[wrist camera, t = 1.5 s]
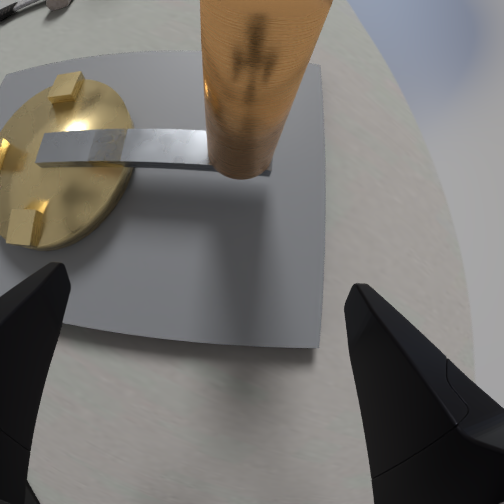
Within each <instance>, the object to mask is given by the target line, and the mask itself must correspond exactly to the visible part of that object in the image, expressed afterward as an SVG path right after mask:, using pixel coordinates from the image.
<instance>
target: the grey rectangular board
mask: <svg viewBox="0 0 504 504" xmlns="http://www.w3.org/2000/svg"><path fill="white" fill-rule="evenodd" d="M78 71H81V72H82V74H83V75H84V77H85V79H88V80H94V81H99V82H101V83H104V84H106V85H108V86H109V87H111V88H112V89H113V90H115V91H116V92H117V93H118V94H119V96H120V97H121V98H122V100H123V101H124V104H125V106H126V108H127V110H128V112H129V114H130V117H131V119H132V121H133V123H134V127H135V129H182V130H202V131H206V119H205V103H204V86H203V67H202V51H145V52H129V53H118V54H108V55H99V56H92V57H85V58H78V59H72V60H66V61H61V62H56V63H51V64H46V65H42V66H37V67H33V68H29V69H25V70H21V71H18V72H14V73H10V74H7V75H6V76H5V78H4V80H3V82H2V84H1V86H0V132H1V130H2V129H3V127H4V126H5V124H6V123H7V121H8V120H9V119H10V118H11V117H12V115H13V114H14V113H15V112H16V111H17V110H18V109H19V108H20V107H21V106H22V105H23V104H24V103H26V102H27V101H28V100H29V99H30V98H32V97H33V96H35V95H36V94H38V93H39V92H41V91H43V90H45V89H46V88H48V87H51V86H53V83H54V81H55V79H56V77H57V75H59V74H65V73H71V72H78ZM325 205H326V188H325V137H324V113H323V95H322V80H321V67H320V65H317V64H312V63H308V66H307V68H306V71H305V73H304V76H303V78H302V81H301V84H300V86H299V89H298V91H297V94H296V97H295V99H294V102H293V105H292V107H291V110H290V112H289V115H288V118H287V120H286V123H285V126H284V128H283V131H282V134H281V136H280V139H279V141H278V144H277V147H276V149H275V152H274V155H273V159H272V172H271V174H270V177H265V176H256V177H254V178H251V179H245V180H237V179H232V178H228V177H226V176H224V175H222V174H221V173H219V172H211V171H196V170H180V169H160V168H134V169H133V173H132V176H131V178H130V181H129V183H128V186H127V188H126V190H125V192H124V194H123V196H122V198H121V199H120V201H119V202H118V204H117V205H116V207H115V208H114V210H113V211H112V212H111V213H110V214H109V216H108V217H107V218H106V219H105V220H104V221H103V222H102V223H101V224H100V225H99V226H98V227H97V228H96V229H95V230H94V231H92V232H91V233H90V234H89V235H88V236H86V237H84V238H83V239H81V240H80V241H78V242H76V243H74V244H72V245H70V246H68V247H65V248H61V249H58V250H52V251H37V250H32V249H29V248H25V247H22V246H15V245H11V244H7V243H6V239H4V238H3V237H1V236H0V296H2V295H3V294H5V293H6V292H7V291H9V290H10V289H12V288H13V287H14V286H16V285H17V284H19V283H20V282H21V281H23V280H24V279H26V278H27V277H29V276H30V275H32V274H33V273H35V272H36V271H38V270H39V269H41V268H42V267H44V266H45V265H47V264H48V263H50V262H53V261H54V262H62V263H63V264H64V265H65V267H66V270H67V274H68V277H69V280H70V283H71V291H70V295H69V299H68V303H67V306H66V310H65V314H64V318H63V323H65V324H70V325H76V326H81V327H87V328H92V329H98V330H104V331H110V332H117V333H123V334H130V335H137V336H145V337H152V338H161V339H169V340H179V341H188V342H199V343H211V344H224V345H239V346H258V347H284V348H319V342H320V330H321V316H322V300H323V281H324V257H325Z"/></svg>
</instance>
